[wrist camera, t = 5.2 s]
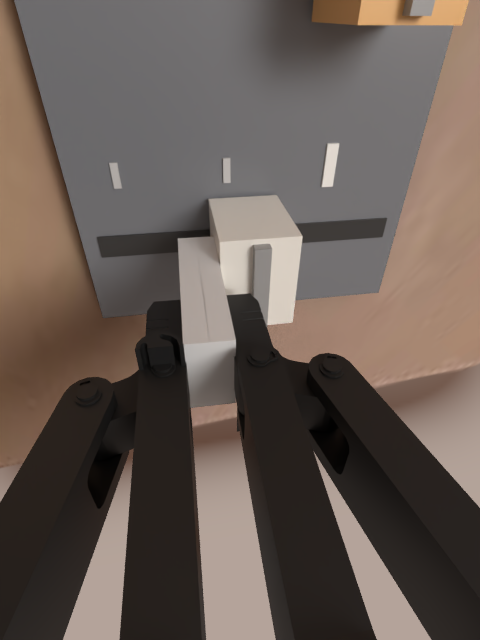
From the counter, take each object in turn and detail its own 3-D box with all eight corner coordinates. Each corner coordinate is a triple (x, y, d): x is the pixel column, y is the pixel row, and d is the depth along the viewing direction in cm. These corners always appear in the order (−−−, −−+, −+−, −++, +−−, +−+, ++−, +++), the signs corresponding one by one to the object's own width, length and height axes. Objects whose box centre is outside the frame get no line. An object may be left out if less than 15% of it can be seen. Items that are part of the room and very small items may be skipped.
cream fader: (212, 277, 19) (223, 335, 16) (208, 198, 16) (220, 247, 13) (271, 272, 19) (295, 328, 16) (276, 195, 17) (305, 241, 13)
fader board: (105, 304, 21) (102, 319, 20) (-76, -374, 9) (-107, -426, 8) (369, 280, 22) (379, 293, 21) (518, -301, 11) (556, -333, 10)
